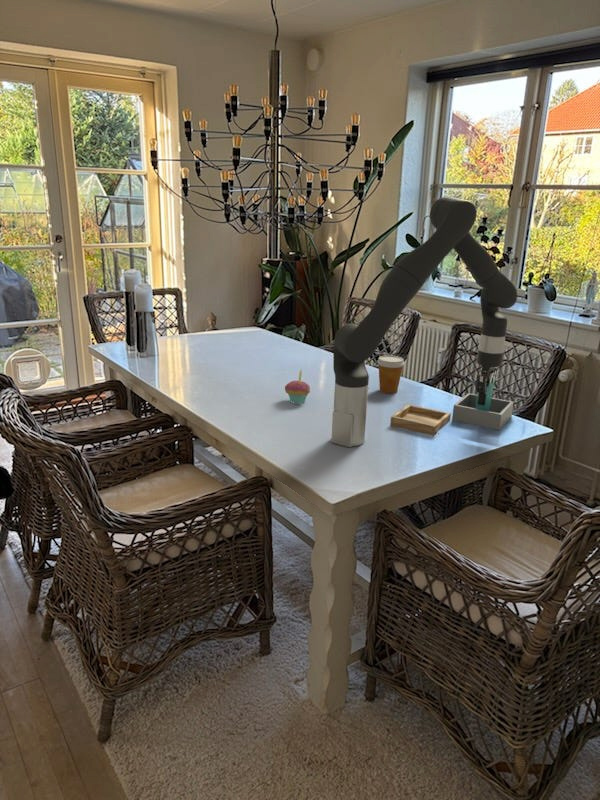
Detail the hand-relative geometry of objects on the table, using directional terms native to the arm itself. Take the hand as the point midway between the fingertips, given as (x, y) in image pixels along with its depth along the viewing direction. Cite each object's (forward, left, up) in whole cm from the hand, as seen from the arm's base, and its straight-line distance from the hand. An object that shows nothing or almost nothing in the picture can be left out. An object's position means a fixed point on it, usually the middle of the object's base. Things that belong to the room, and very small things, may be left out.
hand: (483, 402), depth 190 cm
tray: (-14, +15, -6) cm, 21 cm away
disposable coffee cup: (+11, +37, -7) cm, 39 cm away
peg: (0, 0, -2) cm, 2 cm away
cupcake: (-19, +57, -7) cm, 60 cm away
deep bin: (0, 0, -6) cm, 6 cm away
